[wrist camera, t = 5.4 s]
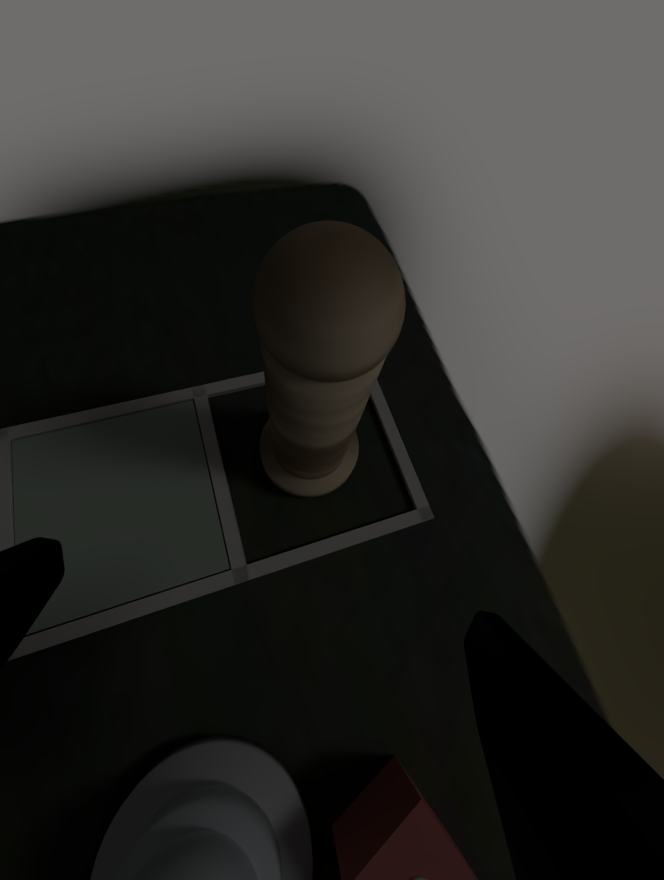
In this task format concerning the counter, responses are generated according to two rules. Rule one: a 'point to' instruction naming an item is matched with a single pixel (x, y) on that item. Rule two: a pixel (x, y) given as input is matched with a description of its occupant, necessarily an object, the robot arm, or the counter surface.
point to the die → (395, 834)
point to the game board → (145, 507)
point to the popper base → (215, 765)
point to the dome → (206, 840)
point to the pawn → (322, 349)
